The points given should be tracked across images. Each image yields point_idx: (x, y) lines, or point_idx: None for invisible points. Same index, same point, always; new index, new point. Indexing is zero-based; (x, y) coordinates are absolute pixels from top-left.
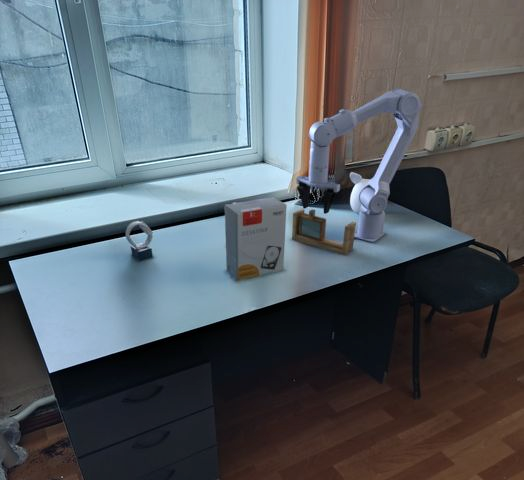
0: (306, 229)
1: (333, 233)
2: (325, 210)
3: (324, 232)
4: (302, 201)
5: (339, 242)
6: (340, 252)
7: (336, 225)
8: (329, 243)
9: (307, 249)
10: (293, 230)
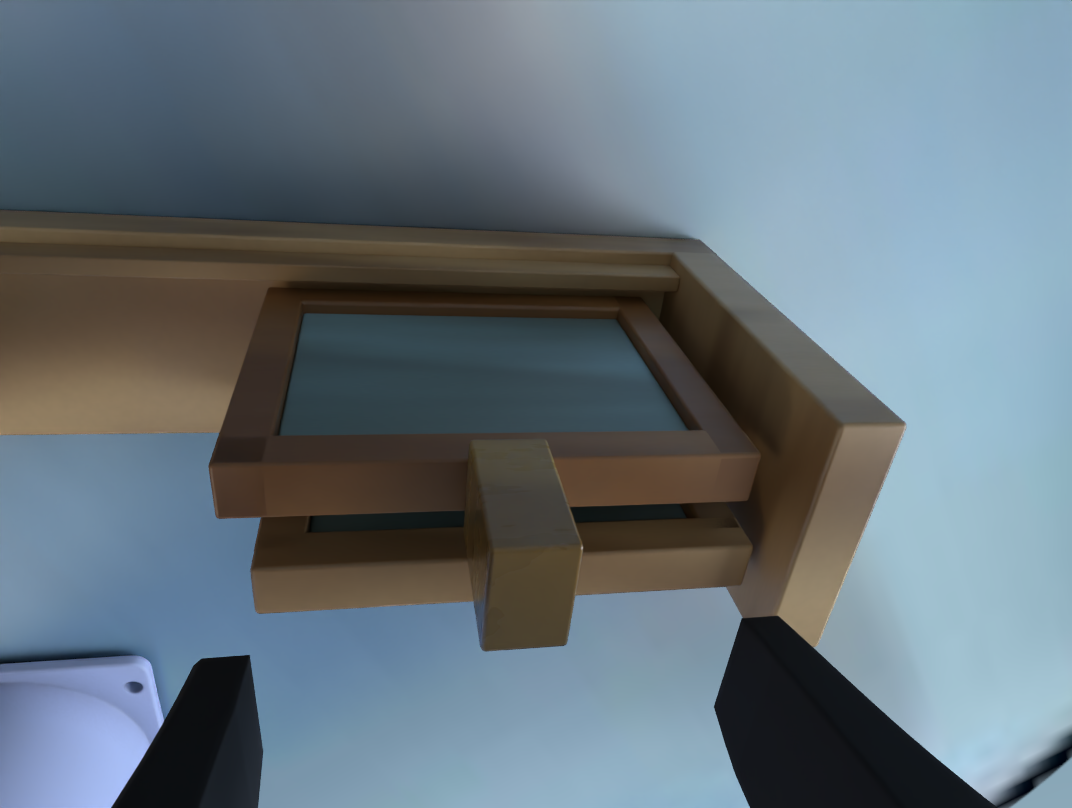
0: (550, 353)
1: (367, 617)
2: (172, 720)
3: None
4: (882, 725)
5: (74, 431)
6: None
7: (443, 746)
8: (90, 273)
9: (369, 63)
10: (734, 286)
